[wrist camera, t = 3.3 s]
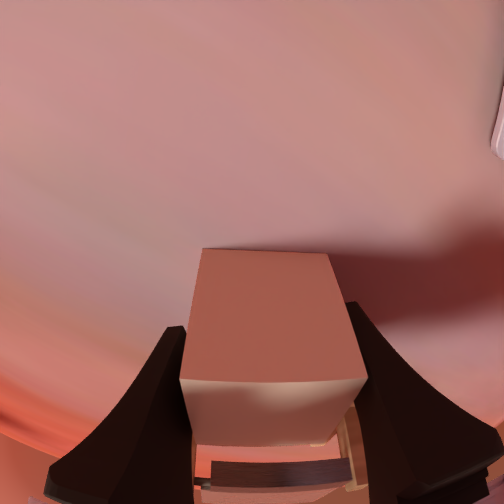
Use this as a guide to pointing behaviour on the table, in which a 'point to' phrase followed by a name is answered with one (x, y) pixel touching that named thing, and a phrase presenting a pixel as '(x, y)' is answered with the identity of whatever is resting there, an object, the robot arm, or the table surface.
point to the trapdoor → (275, 481)
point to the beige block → (268, 350)
